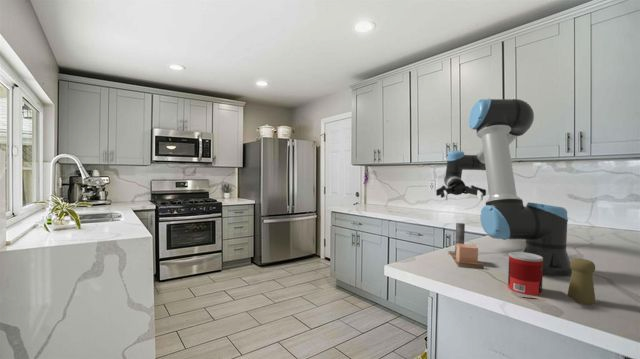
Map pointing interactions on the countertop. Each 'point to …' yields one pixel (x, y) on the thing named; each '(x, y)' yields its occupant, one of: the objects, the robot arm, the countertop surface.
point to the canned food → (525, 273)
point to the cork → (582, 282)
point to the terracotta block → (466, 253)
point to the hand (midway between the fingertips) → (463, 197)
